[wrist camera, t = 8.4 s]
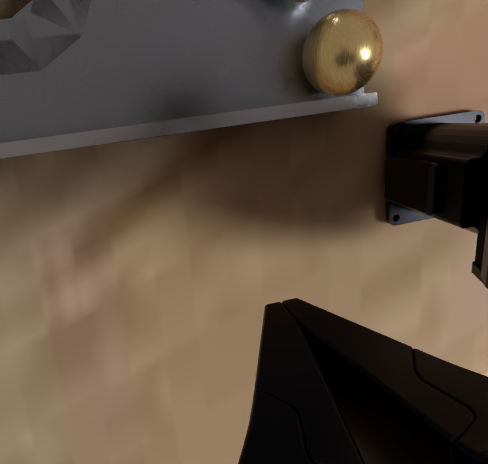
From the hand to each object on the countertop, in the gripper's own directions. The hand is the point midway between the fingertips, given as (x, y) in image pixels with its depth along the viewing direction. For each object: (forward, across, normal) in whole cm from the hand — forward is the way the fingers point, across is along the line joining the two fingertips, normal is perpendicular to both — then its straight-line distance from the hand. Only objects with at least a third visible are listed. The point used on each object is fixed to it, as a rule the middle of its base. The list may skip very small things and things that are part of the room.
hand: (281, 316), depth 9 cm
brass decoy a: (+8, -6, -7) cm, 12 cm away
